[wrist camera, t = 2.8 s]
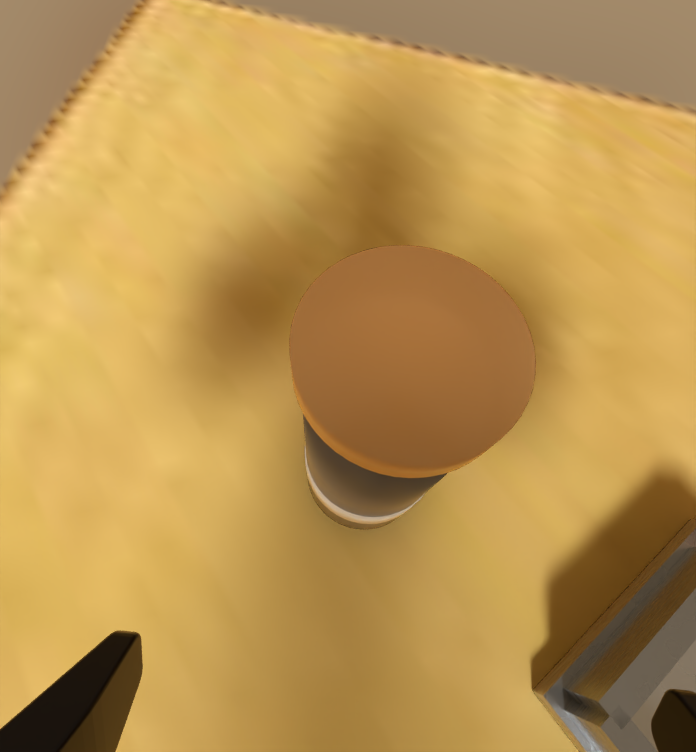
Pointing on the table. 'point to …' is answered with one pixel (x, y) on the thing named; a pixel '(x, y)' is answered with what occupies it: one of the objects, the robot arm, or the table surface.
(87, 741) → the robot arm
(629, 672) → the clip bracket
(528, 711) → the table surface
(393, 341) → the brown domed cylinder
